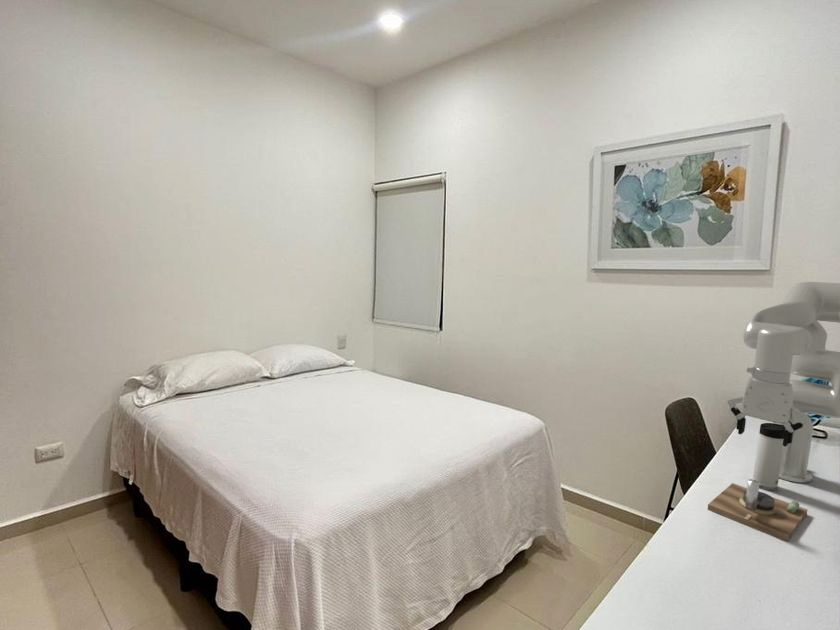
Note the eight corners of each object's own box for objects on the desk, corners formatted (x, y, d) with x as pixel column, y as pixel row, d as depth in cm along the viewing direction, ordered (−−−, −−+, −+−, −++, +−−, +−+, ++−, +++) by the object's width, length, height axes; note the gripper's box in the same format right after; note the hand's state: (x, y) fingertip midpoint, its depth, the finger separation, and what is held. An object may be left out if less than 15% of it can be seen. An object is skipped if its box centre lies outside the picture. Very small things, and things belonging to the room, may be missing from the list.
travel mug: (782, 492, 138) (792, 429, 135) (758, 489, 139) (767, 427, 137) (771, 482, 144) (780, 422, 141) (748, 479, 145) (756, 419, 143)
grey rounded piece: (732, 508, 123) (736, 477, 122) (747, 493, 131) (751, 464, 130) (764, 520, 118) (768, 488, 117) (776, 504, 126) (781, 474, 125)
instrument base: (731, 487, 140) (733, 477, 140) (806, 514, 126) (808, 503, 126) (707, 509, 128) (708, 498, 127) (787, 541, 114) (789, 529, 113)
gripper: (727, 371, 121) (720, 432, 124) (811, 386, 108) (801, 454, 111) (736, 366, 126) (729, 425, 129) (817, 381, 113) (807, 445, 116)
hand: (762, 438), depth 120 cm, fingers open, 9 cm apart
